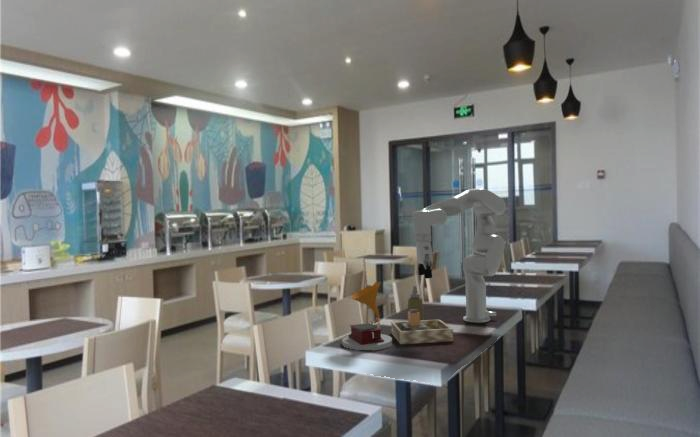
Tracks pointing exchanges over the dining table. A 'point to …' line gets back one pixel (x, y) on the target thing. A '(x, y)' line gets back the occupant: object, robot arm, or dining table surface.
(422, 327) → the socket
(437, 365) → the dining table surface
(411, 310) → the orange canister
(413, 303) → the squeeze bottle
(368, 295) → the gramophone
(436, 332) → the box
